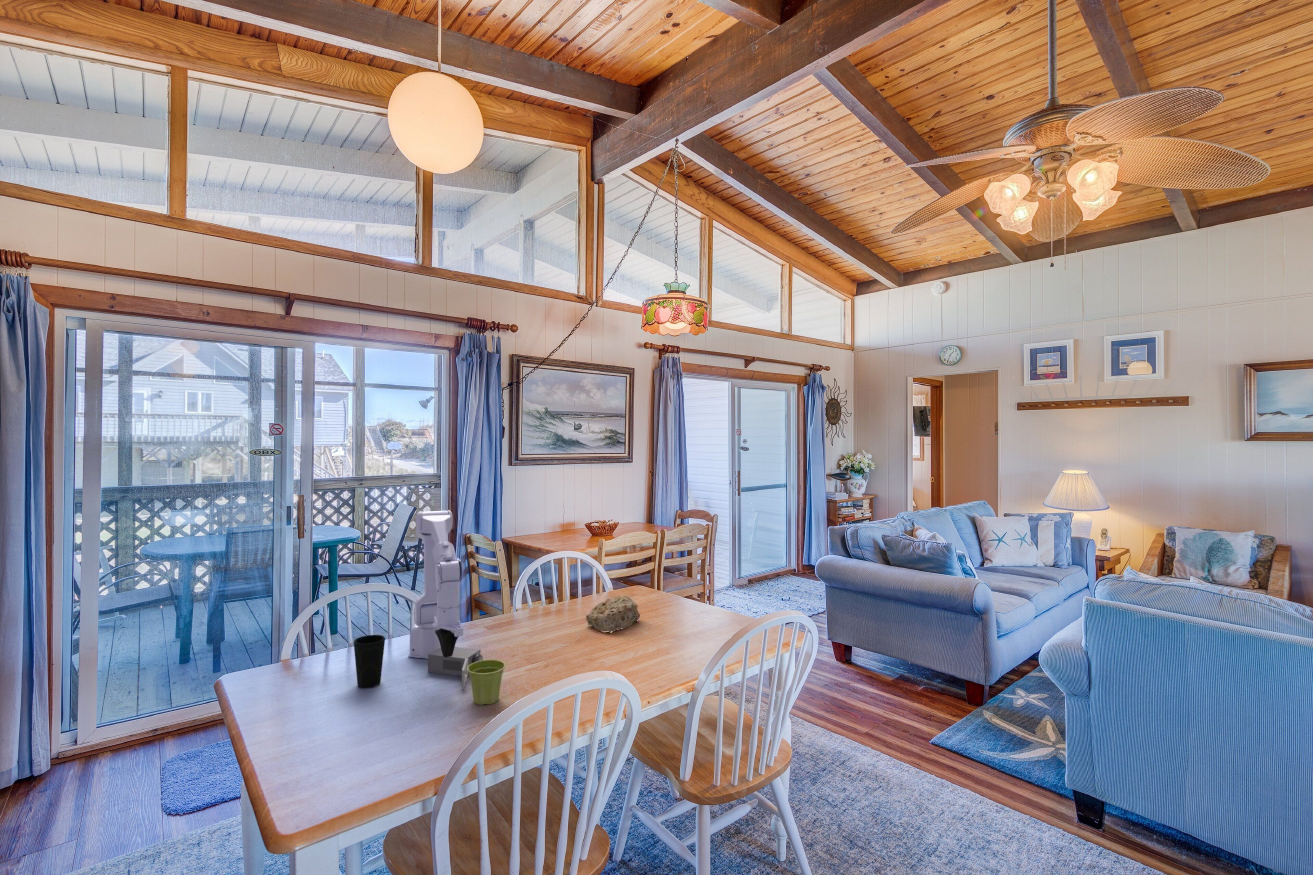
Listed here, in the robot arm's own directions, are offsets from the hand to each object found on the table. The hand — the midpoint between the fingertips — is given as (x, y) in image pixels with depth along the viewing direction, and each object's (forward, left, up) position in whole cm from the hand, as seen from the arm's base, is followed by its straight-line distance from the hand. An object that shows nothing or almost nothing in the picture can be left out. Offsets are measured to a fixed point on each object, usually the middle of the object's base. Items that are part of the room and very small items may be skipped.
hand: (447, 656), depth 167 cm
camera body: (-4, +10, -8) cm, 13 cm away
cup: (-20, -6, -8) cm, 22 cm away
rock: (+27, +63, -8) cm, 69 cm away
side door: (+4, +2, -7) cm, 9 cm away
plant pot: (+15, -7, -8) cm, 18 cm away
